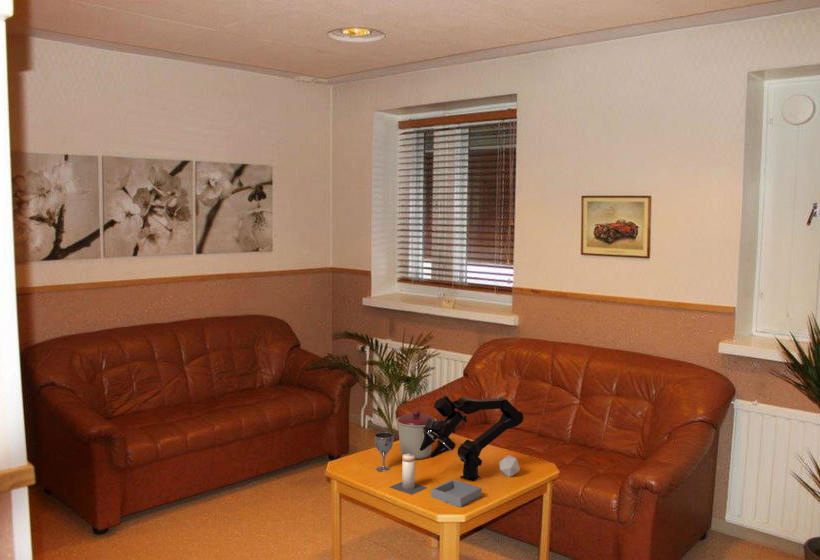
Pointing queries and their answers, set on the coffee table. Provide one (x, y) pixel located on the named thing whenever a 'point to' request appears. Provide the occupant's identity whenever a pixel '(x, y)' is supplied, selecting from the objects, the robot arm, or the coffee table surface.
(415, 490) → the mat
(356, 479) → the coffee table surface
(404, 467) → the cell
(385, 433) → the wine glass
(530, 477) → the coffee table surface
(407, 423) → the canister
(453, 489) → the bin
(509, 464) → the die
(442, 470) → the coffee table surface
